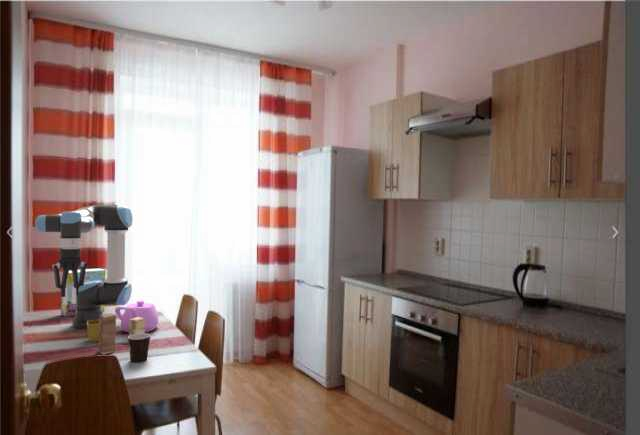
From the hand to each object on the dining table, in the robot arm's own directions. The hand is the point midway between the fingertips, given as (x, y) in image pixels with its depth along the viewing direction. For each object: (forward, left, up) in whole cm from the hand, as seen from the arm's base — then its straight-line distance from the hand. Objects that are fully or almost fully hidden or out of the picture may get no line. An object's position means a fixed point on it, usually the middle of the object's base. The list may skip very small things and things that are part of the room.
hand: (69, 303), depth 179 cm
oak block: (-4, +31, -23) cm, 39 cm away
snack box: (-74, +31, -23) cm, 83 cm away
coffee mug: (+25, +18, -23) cm, 38 cm away
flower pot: (-15, +17, -23) cm, 32 cm away
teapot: (-18, +39, -23) cm, 49 cm away
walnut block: (+4, +14, -23) cm, 27 cm away
